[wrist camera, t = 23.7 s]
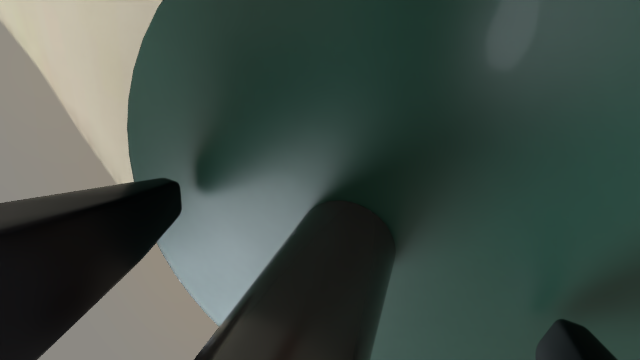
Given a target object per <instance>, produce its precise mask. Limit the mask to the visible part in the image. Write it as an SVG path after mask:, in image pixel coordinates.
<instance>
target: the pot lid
mask: <svg viewBox="0 0 640 360" xmlns="http://www.w3.org/2000/svg"><path fill="white" fill-rule="evenodd" d="M127 132H128V145H129V157H130V162H131V168H132V173H133V179H134V182H137V181H144V180H150V179H156V178H168V179H171V180H174V181H176V182H178V183H179V185H180V189H181V201H182V211H181V214H180V215H179V217H178V218H177V219H176V220H175V222H174V223H173V224H172V225H171V226H170V227H169V229H168V230H167V231H166V232H165V233H164V234H163V235H162V237H161V238H160V239H159V240H158V241H157V244H158V246H159V248H160V250H161V252H162V254H163V256H164V257H165V259H166V260H167V262H168V264H169V265H170V267H171V269H172V270H173V272H174V274H175V275H176V276H177V278H178V279H179V280H180V282H181V283H182V284H183V286H184V287H185V289H186V290H187V292H188V293H189V294H190V295H191V296H192V298H193V299H194V300H195V301H196V302H197V304H198V305H199V306H200V307H201V308H202V310H203V311H204V312H205V313H206V314H207V315H208V316H209V317H210V318H211V319H212V320H213V321H214V322H215V323H216V324H217V325H218V326H219V328H218V329H217V330H216V332H215V333H214V334H213V336H212V337H211V338H210V340H209V341H208V342H207V344H206V345H205V346H204V347H203V349H202V350H201V351H200V352H199V354H198V355H197V356H196V358H195V359H194V360H535V352H536V347H537V345H538V343H539V341H540V340H541V339H542V337H543V336H544V335H545V333H546V332H547V331H548V330H549V328H550V327H551V326H552V324H553V323H554V322H555V321H556V320H558V319H565V320H568V321H571V322H574V323H577V324H580V325H582V326H584V327H586V328H587V329H588V330H589V331H590V332H591V333H592V334H593V335H594V336H595V337H596V338H597V339H598V340H599V341H600V342H601V343H602V344H603V345H604V346H605V347H606V348H607V349H608V350H609V351H610V352H611V353H612V354H613V355H614V356H615V357H616V358H617V359H618V360H640V0H163V1H162V2H161V4H160V5H159V7H158V8H157V11H156V13H155V15H154V17H153V19H152V21H151V23H150V25H149V27H148V30H147V32H146V34H145V36H144V38H143V41H142V44H141V47H140V50H139V53H138V57H137V60H136V63H135V66H134V70H133V75H132V81H131V87H130V93H129V99H128V123H127Z"/></svg>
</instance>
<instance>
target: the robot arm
mask: <svg viewBox="0 0 640 360" xmlns="http://www.w3.org/2000/svg"><path fill="white" fill-rule="evenodd" d="M181 211H182V201H181V189H180V185H179V183H178V182H176V181H174V180H171V179H168V178H156V179H150V180H144V181H137V182H131V183H125V184H118V185H113V186H106V187H100V188H94V189H87V190H81V191H74V192H68V193H62V194H55V195H49V196H43V197H36V198H30V199H24V200H17V201H11V202H5V203H0V360H37V359H38V358H39V357H40V356H41V355H43V354H44V353H45V352H46V351H47V350H48V349H49V348H50V347H51V346H52V345H53V344H54V343H55V342H56V341H57V340H58V339H59V338H60V337H61V336H62V335H63V334H64V333H66V331H68V330H69V329H70V328H71V327H72V326H73V325H74V324H75V323H76V322H77V321H78V320H79V319H80V318H81V317H82V316H83V315H84V314H85V313H86V312H87V311H88V310H89V309H91V308H92V307H93V306H94V305H95V304H96V303H97V302H98V301H99V300H100V299H101V298H102V297H103V296H104V295H105V294H106V293H107V292H108V291H109V290H110V289H111V288H112V287H113V286H115V285H116V283H118V282H119V281H120V280H121V279H122V278H123V277H124V276H125V275H126V274H127V273H128V272H129V271H130V270H131V269H132V268H133V267H134V266H135V265H136V264H137V263H138V262H139V261H140V260H141V259H142V258H143V257H144V256H145V255H146V254H147V253H148V252H149V250H150V249H151V248H152V247H153V245H155V244H156V242H157V241H158V240H159V239H160V238H161V237H162V235H163V234H164V233H165V232H166V231H167V230H168V229H169V227H170V226H171V225H172V224H173V223H174V222H175V220H176V219H177V218H178V217H179V215H180V214H181ZM535 360H618V359H617V358H616V357H615V356H614V355H613V354H612V353H611V352H610V351H609V350H608V349H607V348H606V347H605V346H604V345H603V344H602V343H601V342H600V341H599V340H598V339H597V338H596V337H595V336H594V335H593V334H592V333H591V332H590V331H589V330H588V329H587V328H586V327H584V326H582V325H580V324H577V323H574V322H571V321H568V320H565V319H558V320H556V321H555V322H554V323H553V324H552V326H551V327H550V328H549V330H548V331H547V332H546V333H545V335H544V336H543V337H542V339H541V340H540V341H539V343H538V345H537V347H536V352H535Z"/></svg>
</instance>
